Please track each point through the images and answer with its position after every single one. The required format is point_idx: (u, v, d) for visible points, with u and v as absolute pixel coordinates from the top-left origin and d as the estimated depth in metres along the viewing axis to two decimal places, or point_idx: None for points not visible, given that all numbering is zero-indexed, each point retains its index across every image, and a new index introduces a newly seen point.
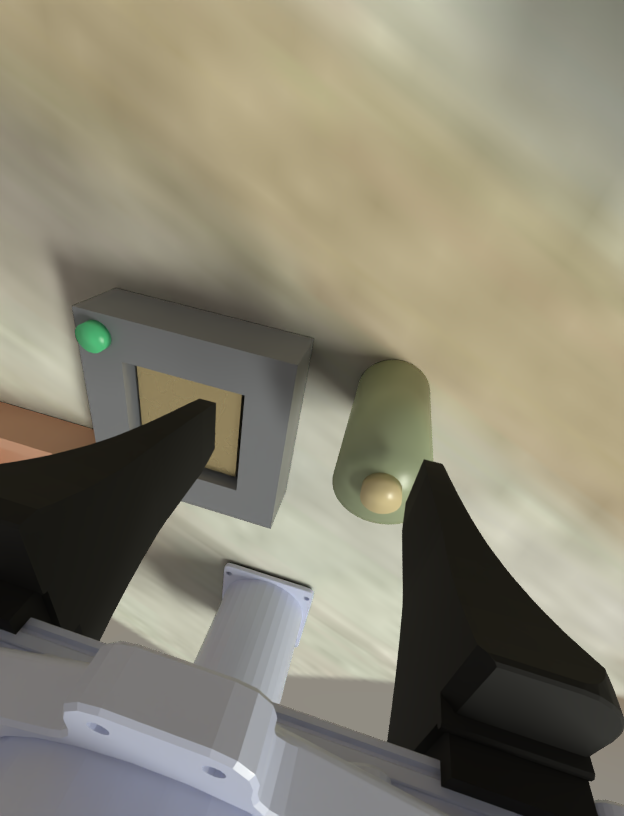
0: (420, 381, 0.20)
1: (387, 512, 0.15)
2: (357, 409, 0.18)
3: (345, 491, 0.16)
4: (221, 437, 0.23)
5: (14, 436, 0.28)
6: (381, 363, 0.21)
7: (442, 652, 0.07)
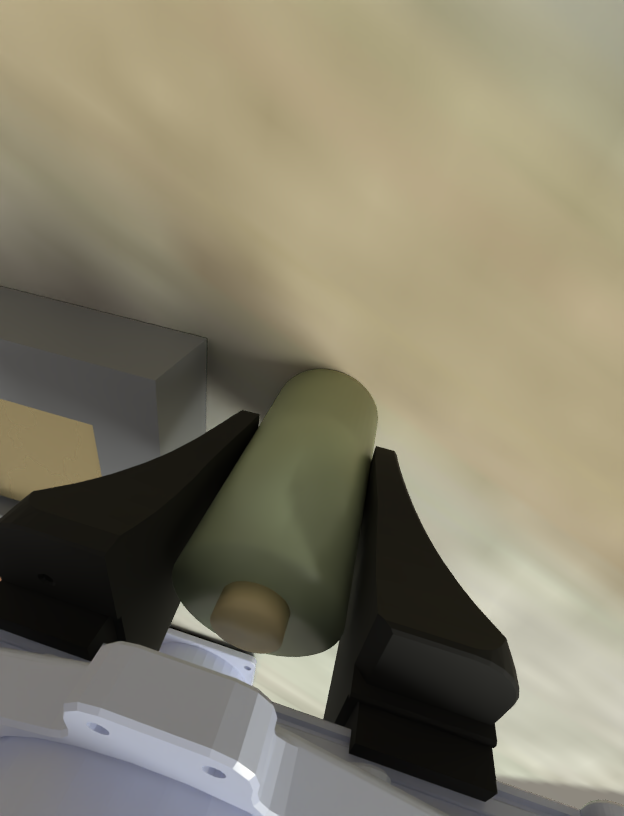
0: (356, 402, 0.13)
1: (262, 651, 0.09)
2: (244, 451, 0.11)
3: (199, 603, 0.09)
4: None
5: None
6: (304, 374, 0.14)
7: (360, 626, 0.07)
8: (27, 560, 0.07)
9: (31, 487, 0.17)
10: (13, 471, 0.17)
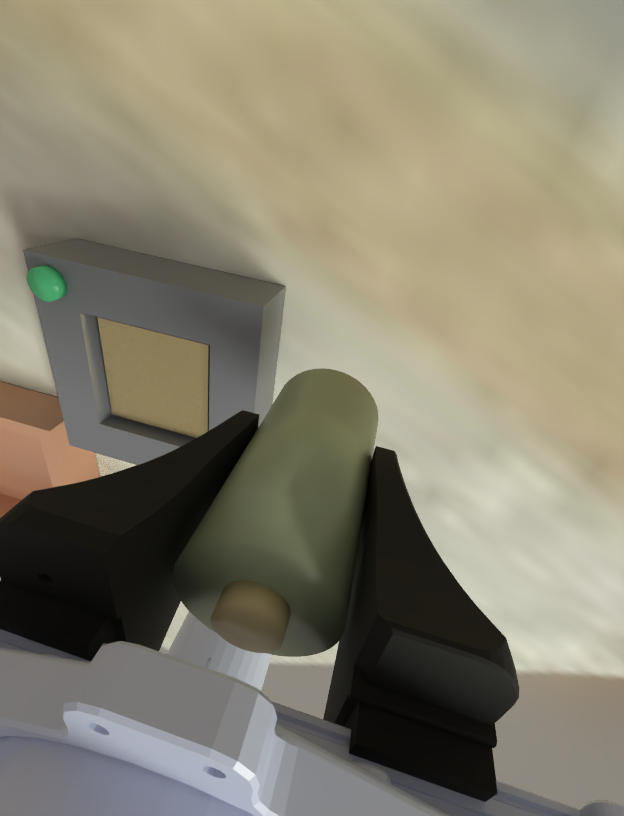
0: (357, 402, 0.13)
1: (263, 651, 0.09)
2: (245, 450, 0.11)
3: (200, 603, 0.09)
4: (190, 396, 0.22)
5: None
6: (304, 373, 0.14)
7: (360, 626, 0.07)
8: (27, 560, 0.07)
9: (144, 406, 0.23)
10: (131, 393, 0.23)
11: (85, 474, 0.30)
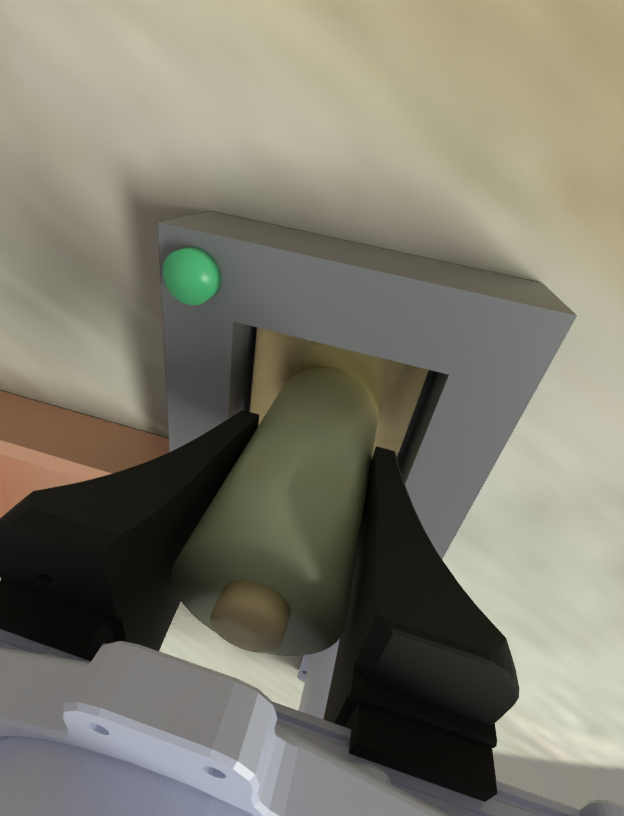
0: (357, 401, 0.13)
1: (263, 650, 0.08)
2: (245, 449, 0.11)
3: (199, 602, 0.09)
4: (376, 435, 0.15)
5: (43, 445, 0.19)
6: (304, 372, 0.14)
7: (360, 627, 0.07)
8: (27, 560, 0.07)
9: None
10: None
11: None
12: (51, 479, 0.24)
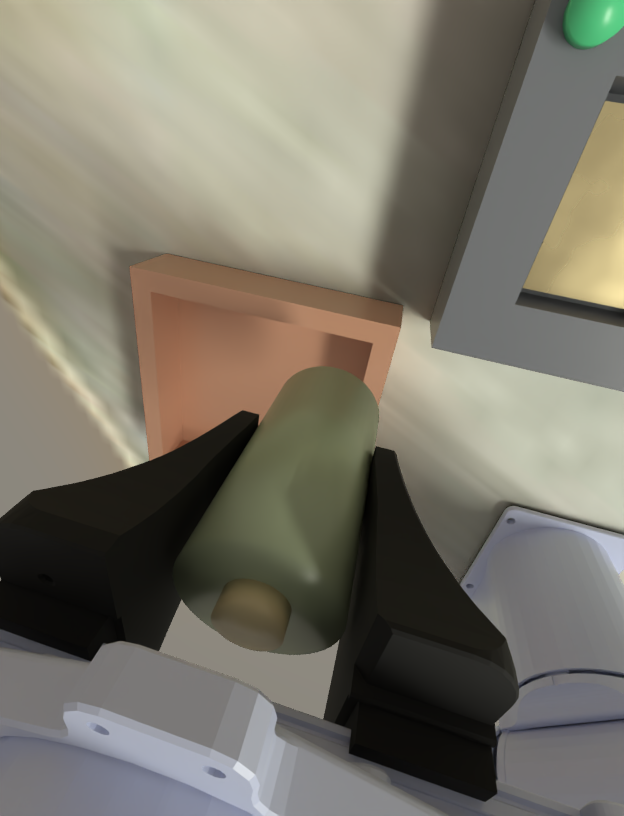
0: (358, 400, 0.13)
1: (264, 649, 0.08)
2: (245, 448, 0.11)
3: (200, 601, 0.09)
4: None
5: (280, 297, 0.18)
6: (304, 371, 0.14)
7: (360, 627, 0.07)
8: (27, 560, 0.07)
9: (594, 268, 0.15)
10: (585, 245, 0.15)
11: None
12: (240, 363, 0.23)
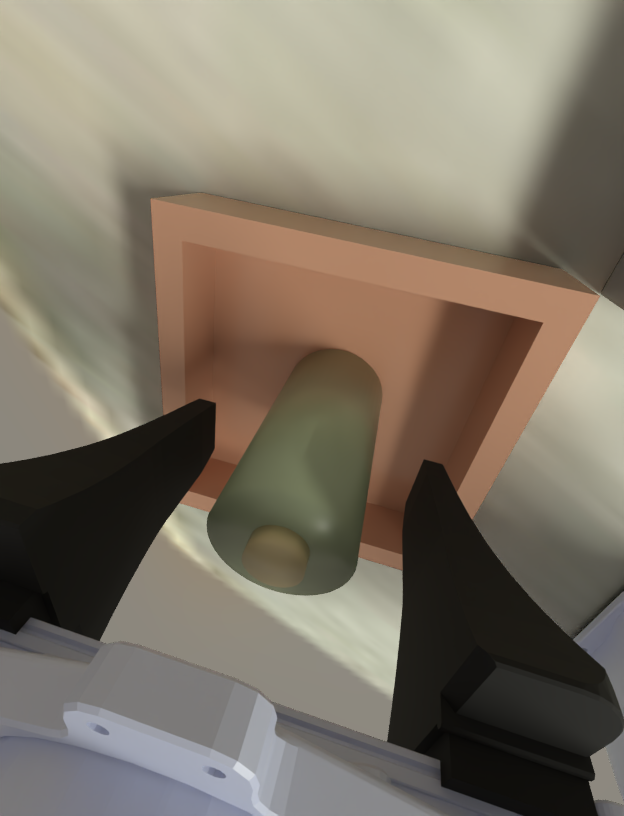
0: (364, 378, 0.15)
1: (286, 585, 0.10)
2: (264, 420, 0.13)
3: (229, 548, 0.11)
4: None
5: (392, 248, 0.11)
6: (314, 353, 0.16)
7: (442, 653, 0.07)
8: None
9: None
10: None
11: None
12: (301, 356, 0.16)
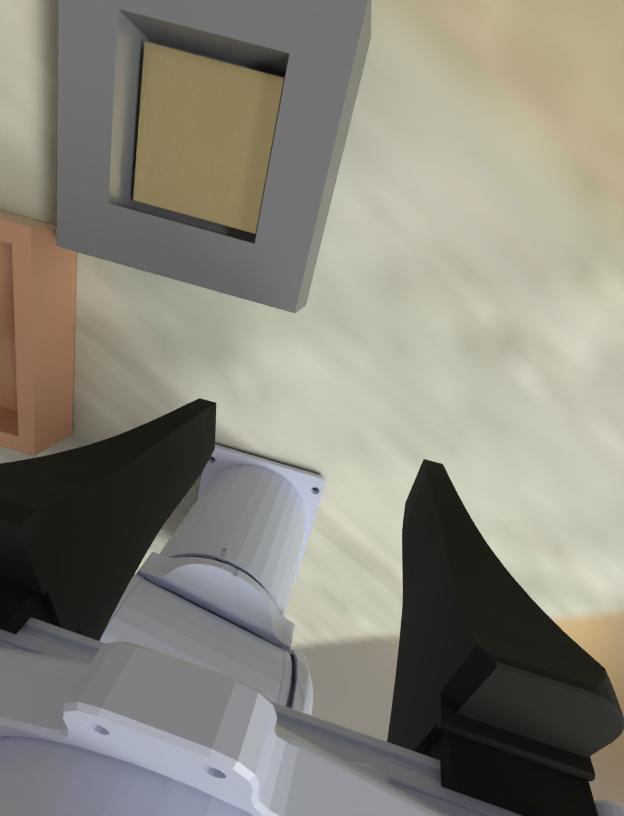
0: None
1: None
2: None
3: None
4: (245, 162, 0.18)
5: None
6: None
7: (442, 652, 0.07)
8: None
9: (179, 183, 0.19)
10: (167, 162, 0.18)
11: (59, 331, 0.23)
12: None
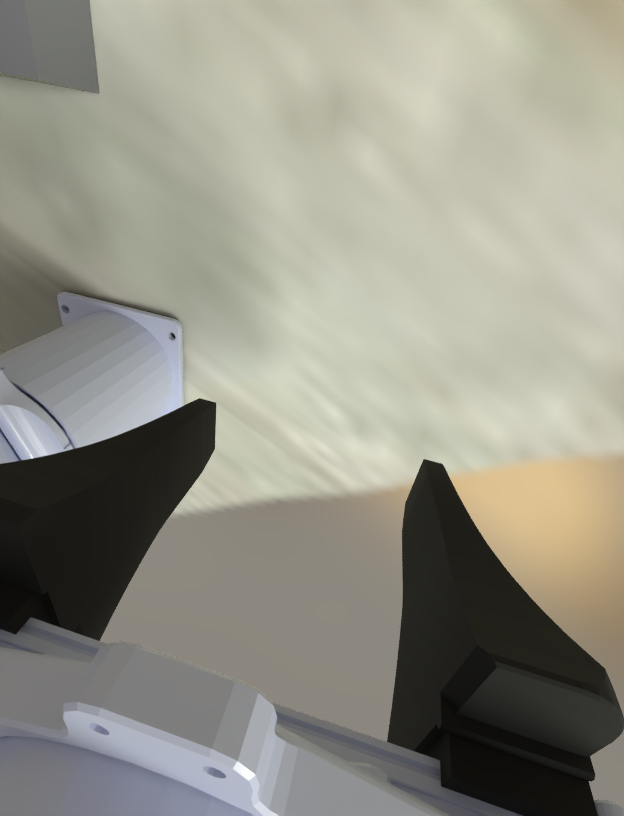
0: None
1: None
2: None
3: None
4: None
5: None
6: None
7: (442, 653, 0.07)
8: None
9: None
10: None
11: None
12: None
